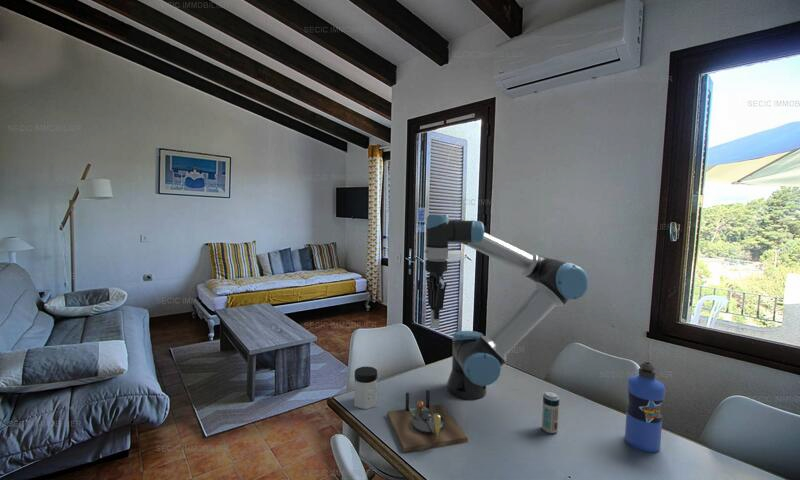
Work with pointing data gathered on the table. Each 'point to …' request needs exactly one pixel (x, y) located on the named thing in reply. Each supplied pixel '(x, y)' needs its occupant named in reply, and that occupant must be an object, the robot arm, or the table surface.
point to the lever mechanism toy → (421, 441)
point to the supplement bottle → (550, 412)
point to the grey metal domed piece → (427, 421)
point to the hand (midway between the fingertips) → (434, 327)
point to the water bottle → (644, 410)
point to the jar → (365, 387)
